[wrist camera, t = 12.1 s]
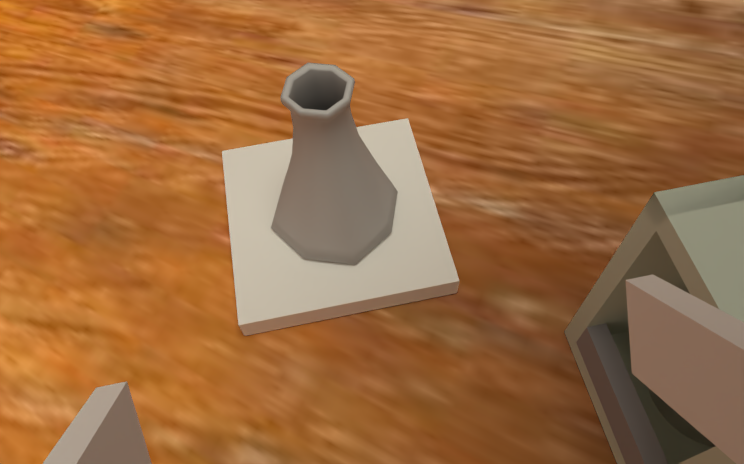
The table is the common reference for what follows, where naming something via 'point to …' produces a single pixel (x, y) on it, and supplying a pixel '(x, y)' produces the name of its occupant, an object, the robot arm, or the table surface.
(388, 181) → the flask
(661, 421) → the dispenser box
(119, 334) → the table surface
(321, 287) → the plate
